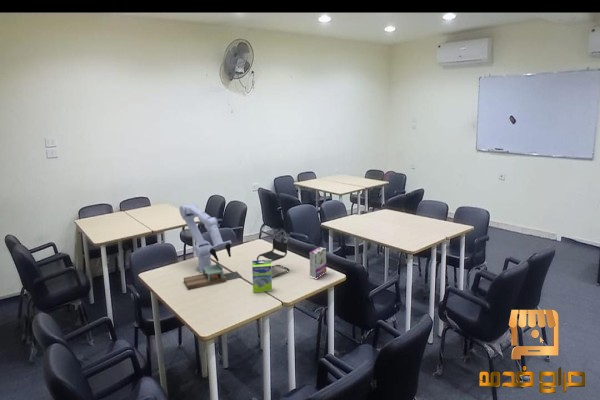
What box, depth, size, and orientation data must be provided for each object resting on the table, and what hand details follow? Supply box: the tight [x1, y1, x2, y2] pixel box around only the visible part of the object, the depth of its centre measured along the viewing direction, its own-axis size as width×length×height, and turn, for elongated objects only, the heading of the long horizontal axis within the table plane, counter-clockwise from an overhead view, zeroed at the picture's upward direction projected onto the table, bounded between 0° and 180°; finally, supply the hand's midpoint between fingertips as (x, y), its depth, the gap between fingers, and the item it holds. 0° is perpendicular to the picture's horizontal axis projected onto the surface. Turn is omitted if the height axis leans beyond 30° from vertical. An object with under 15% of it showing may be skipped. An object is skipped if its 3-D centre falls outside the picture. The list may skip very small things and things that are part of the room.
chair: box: [256, 232, 291, 278], centre depth 239 cm, size 13×17×22 cm
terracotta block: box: [210, 274, 218, 280], centre depth 230 cm, size 4×4×6 cm
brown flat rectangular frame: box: [183, 272, 227, 291], centre depth 228 cm, size 12×22×2 cm, turn 118°
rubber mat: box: [223, 270, 242, 281], centre depth 236 cm, size 9×9×1 cm
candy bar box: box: [309, 246, 327, 278], centre depth 234 cm, size 11×5×16 cm, turn 143°
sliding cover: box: [202, 261, 224, 281], centre depth 230 cm, size 12×9×6 cm
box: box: [251, 259, 273, 293], centre depth 215 cm, size 10×4×17 cm, turn 100°
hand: (224, 258), depth 229 cm, fingers open, 7 cm apart
